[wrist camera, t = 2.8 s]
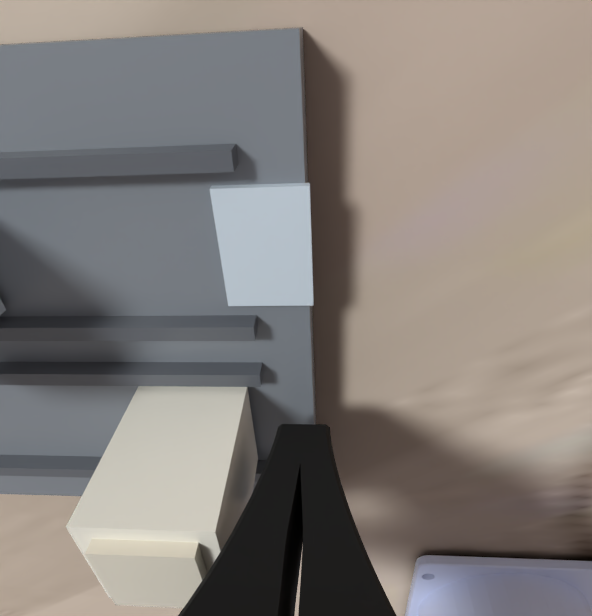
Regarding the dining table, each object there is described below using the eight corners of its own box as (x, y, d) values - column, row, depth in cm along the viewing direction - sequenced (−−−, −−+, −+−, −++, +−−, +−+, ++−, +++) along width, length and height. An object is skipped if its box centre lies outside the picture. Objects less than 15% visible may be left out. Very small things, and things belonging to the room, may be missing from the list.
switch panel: (320, 472, 16) (319, 516, 14) (-22, 464, 17) (-54, 505, 15) (308, 27, 8) (303, 28, 7) (-307, 62, 9) (-420, 69, 8)
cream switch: (258, 457, 13) (232, 619, 10) (163, 455, 14) (103, 612, 10) (247, 385, 12) (211, 548, 8) (139, 384, 12) (58, 542, 8)
